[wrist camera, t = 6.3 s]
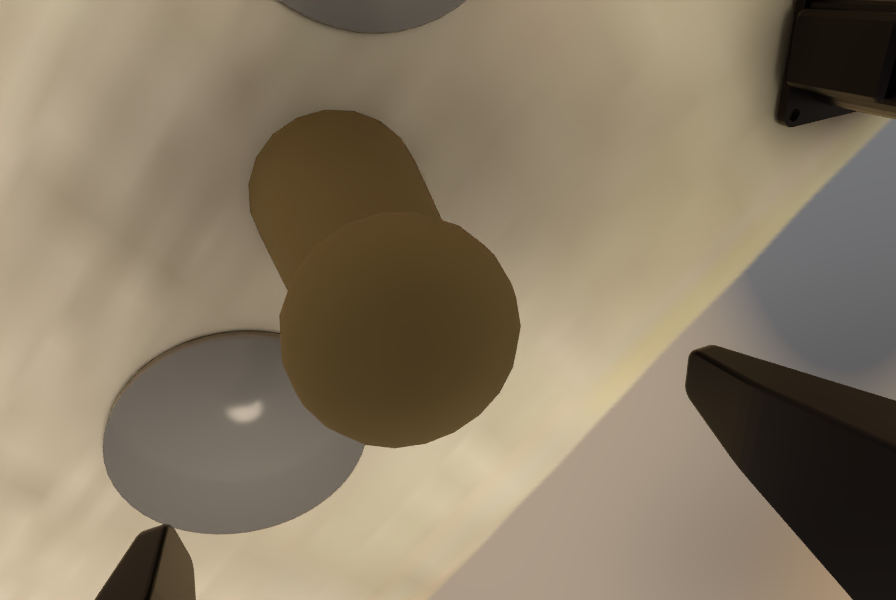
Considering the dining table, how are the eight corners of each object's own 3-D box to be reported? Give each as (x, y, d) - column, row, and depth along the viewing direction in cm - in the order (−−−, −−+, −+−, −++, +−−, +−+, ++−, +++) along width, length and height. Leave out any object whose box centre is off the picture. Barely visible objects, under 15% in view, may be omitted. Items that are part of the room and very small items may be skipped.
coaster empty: (336, 301, 22) (338, 308, 22) (383, 478, 27) (386, 487, 27) (55, 376, 20) (51, 386, 20) (164, 552, 25) (163, 564, 25)
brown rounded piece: (301, 301, 22) (351, 534, 13) (211, 158, 18) (189, 335, 9) (444, 230, 22) (590, 406, 13) (380, 78, 19) (518, 171, 10)
